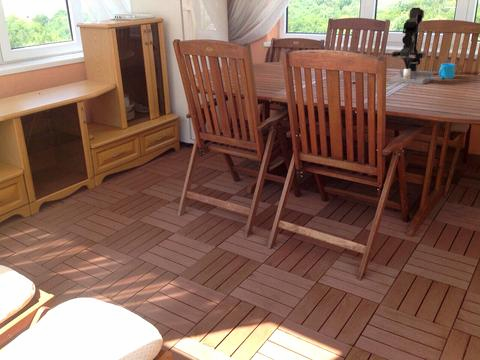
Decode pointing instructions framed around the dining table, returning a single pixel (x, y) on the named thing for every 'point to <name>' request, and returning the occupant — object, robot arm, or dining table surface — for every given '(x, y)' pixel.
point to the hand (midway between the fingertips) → (407, 68)
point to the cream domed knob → (406, 72)
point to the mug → (447, 70)
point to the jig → (413, 77)
